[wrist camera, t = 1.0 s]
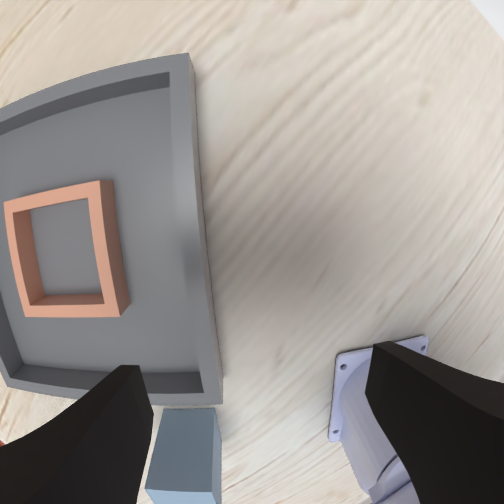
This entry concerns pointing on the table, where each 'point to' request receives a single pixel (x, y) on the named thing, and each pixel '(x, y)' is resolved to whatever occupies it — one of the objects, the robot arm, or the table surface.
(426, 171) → the table surface
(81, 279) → the gray tray
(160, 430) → the block
